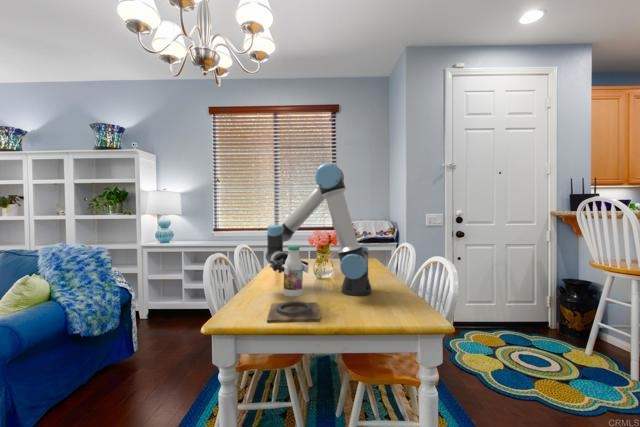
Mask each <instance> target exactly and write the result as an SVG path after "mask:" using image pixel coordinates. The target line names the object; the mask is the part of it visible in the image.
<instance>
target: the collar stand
mask: <svg viewBox="0 0 640 427" xmlns="http://www.w3.org/2000/svg"><path fill="white" fill-rule="evenodd" d="M318 304H319V303H318V302H317V301H315V302H313V301H311V302H305V301H297V300H296V301H286V302H273V303H271V304H270V308H269V311H268V314H267V317H266V318H267V319H266V323H302V322H303V323H304V322H305V323H306V322H311V323H312V322H321V316H320V311H319V305H318Z"/></svg>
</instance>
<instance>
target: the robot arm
mask: <svg viewBox="0 0 640 427" xmlns="http://www.w3.org/2000/svg"><path fill="white" fill-rule="evenodd" d="M314 179H315V182H316V184H315V188H313V190H311V192H310V193H309V195H307V197H305V199H304V200H303V201H302V202H301V204H299V206H297V208H296V209H295V210H294V211H293V212H292V213H291V214H290V215H289V217H288V218H287V219H286V220H285V221H284V223H282V224H270V225H268V226H267V232H266V234H267V248H266V249H267V250H266V252H265V255H264V256H265V257H264V258H265V260H266V261H267V263H268V264H269V267H270V268H272V270H273V271H274V272H277V271H278V274H280V273H281V274H282V273H283V274H284V273H285V274H286V275H289V268H288V267H287V266H285V262H286V259H287V257H288V254H287V253H285V252H284V243H285V242H288V241H289V240H291V239H292V237H293V235H294V234H295V233H296V231H298V229H299V228H300V227H301V226H302V225H303V224H304V222H306V220H308V219H309V217H310V216H311V215H312V214H313V213H314V212H315V211H316V210H317V208H319V207H320V205H322V204H323V202H324V201H326V203H327V204H326V205H327V207H328V210H329V211H328V212H329V215H330V217H331V221H332V222H331V223H332V225H333V229H334V232H335V234H336V240H337V242H338V246H339V248H338V251H337V254H338V255H337V256H338V259H339V268H340V272H341V274H343V276H344V279H343V281H342V285H341V293H342V294H344V295H347V296H354V297H356V296H357V297H361V296H362V297H363V296H369V295H371V294H372V291H373V290H372V285H371V282H370V278H369V248H368V247H367V246H363V245H362V244H360V243H359V242H358V239H357V236H356V232H355V229H354V225H353V222H352V218H351V215H350V212H349V207H348V204H347V201H346V197H345V194H344V193H345V191H346V185H345V181H344V179H345V175H344V172H343V171H342V169H340V168H339V166H337V164H335V163H332V162H331V163H330V162H329V163H328V162H325V163H323V164H320V165H319V166H318V167H317V169H316V171H315V174H314ZM301 261H302V265H303V273H305V274H309V262H307V261H304V260H301Z"/></svg>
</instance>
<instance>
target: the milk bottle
mask: <svg viewBox="0 0 640 427" xmlns="http://www.w3.org/2000/svg"><path fill="white" fill-rule="evenodd" d="M287 250H288V254H287V255H288V257H287V259H286V262H285V266H287V267H288V268H289V275H286V274H285V273H284V272H283V296H286V297H291V298H292V297H293V298H294V297H295V298H296V297H301V296H302V295H303V289H304V288H303V284H304V283H303V282H304V279H303V278H304V277H303V276H304V271H303V265H302V261H303V260H302V259H301V257H300V246H299V245H297V244H296V245H294V244H292V245H288V246H287Z"/></svg>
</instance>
